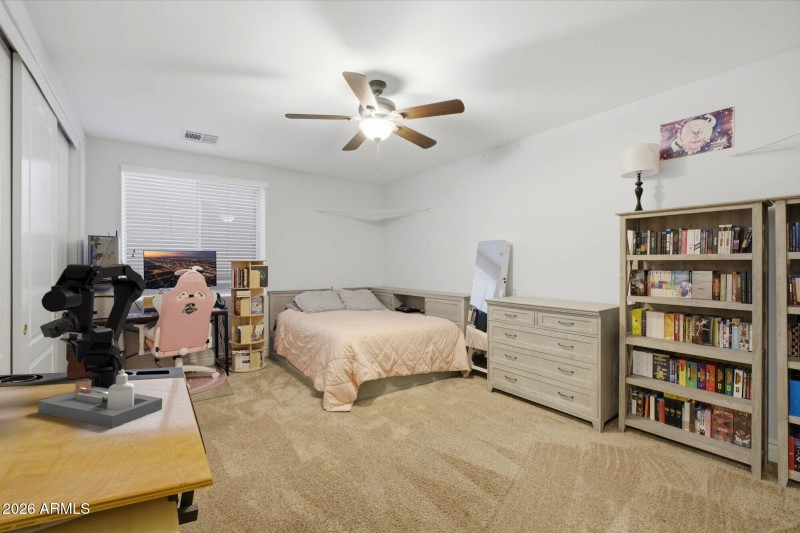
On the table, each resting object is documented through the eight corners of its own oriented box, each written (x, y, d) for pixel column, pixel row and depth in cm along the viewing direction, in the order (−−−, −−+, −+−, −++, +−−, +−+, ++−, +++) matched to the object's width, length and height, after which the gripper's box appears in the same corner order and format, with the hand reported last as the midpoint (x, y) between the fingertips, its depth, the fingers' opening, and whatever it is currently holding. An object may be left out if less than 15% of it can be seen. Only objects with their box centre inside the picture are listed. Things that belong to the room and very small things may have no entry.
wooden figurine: (107, 371, 136) (109, 322, 137) (110, 374, 132) (112, 325, 132) (64, 376, 128) (66, 325, 128) (65, 381, 123) (68, 328, 124)
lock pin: (87, 393, 104) (87, 379, 104) (117, 399, 101) (118, 384, 101) (75, 397, 101) (75, 382, 101) (106, 403, 98) (107, 387, 98)
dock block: (92, 396, 111) (93, 381, 111) (161, 408, 103) (162, 393, 103) (37, 412, 98) (38, 395, 98) (112, 428, 90) (112, 410, 90)
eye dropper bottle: (122, 418, 96) (123, 372, 96) (103, 416, 96) (105, 371, 97) (136, 412, 100) (138, 368, 100) (118, 410, 101) (120, 367, 101)
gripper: (23, 308, 99) (20, 365, 99) (72, 313, 94) (69, 373, 94) (70, 304, 110) (67, 356, 110) (116, 308, 105) (113, 363, 105)
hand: (78, 362), depth 104 cm, fingers closed
